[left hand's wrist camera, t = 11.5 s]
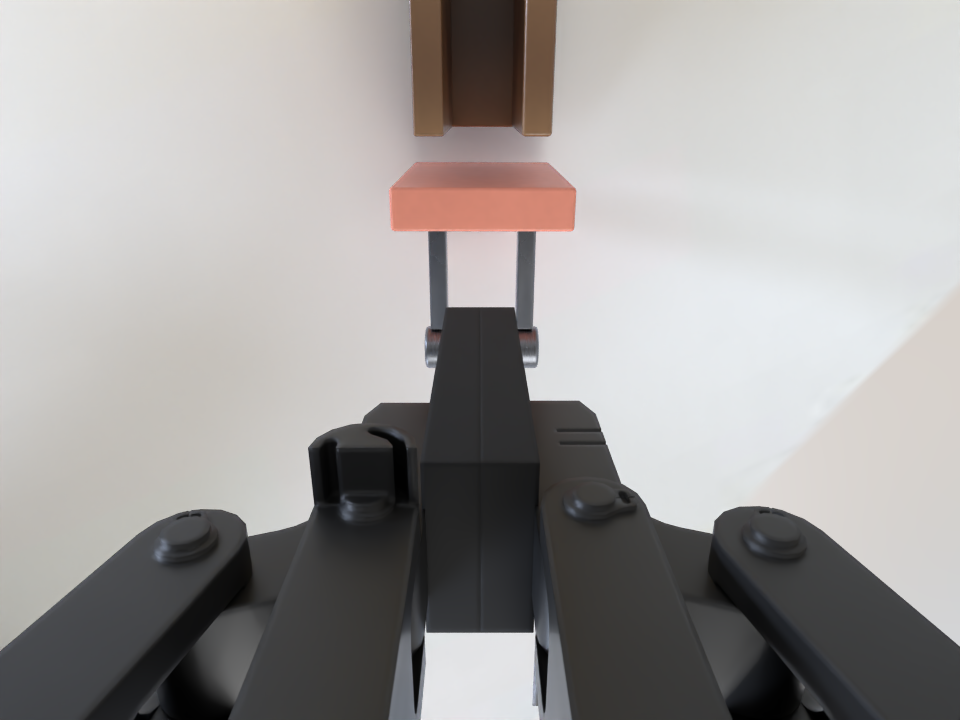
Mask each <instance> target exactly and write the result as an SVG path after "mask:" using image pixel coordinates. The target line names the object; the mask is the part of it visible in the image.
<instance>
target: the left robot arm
mask: <svg viewBox="0 0 960 720" xmlns="http://www.w3.org/2000/svg"><path fill="white" fill-rule="evenodd" d="M308 451H309V460H310V469H311V478H312V487H313V496H314V508H313V510H312V513H311V515H310V518H309V520H308V521H306V522H304V523H301V524H299V525H297V526H294V527H290V528H286V529H283V530H279V531H274V532H269V533H264V534H259V535H254V536H249V537H248V535H247V529H246V524H245V523H244V522H243V521H242V520H241V519H240V518H239V517H238V516H237V515H236V514H232V513H229V512H226V511H223V510H209V509H200V510H191V511H186V512H182V513H178V514H175V515H173V516H171V517H168V518H166V519H163V520H160V521H158V522H156V523H154V524H153V525H151V526H150V527H148V528H147V529H145V530H144V531H142V532H141V533H139V534H138V535H137V536H135V537H134V538H133V539H132V540H131V541H130V542H128V543H127V544H126V545H125V546H124V547H122V548H121V549H120V550H119V551H118V552H117V553H115V554H114V555H113V556H112V557H111V558H110V559H108V560H107V561H106V562H105V563H104V564H102V565H101V566H100V567H99V568H98V569H97V570H95V571H94V572H93V573H92V574H91V575H89V576H88V577H87V578H86V579H85V580H84V581H82V582H81V583H80V584H79V585H78V586H77V587H75V588H74V589H73V590H72V591H71V592H69V593H68V594H67V595H66V596H65V597H64V598H62V599H61V600H60V601H59V602H58V603H57V604H55V605H54V606H53V607H52V608H51V609H49V610H48V611H47V612H46V613H45V614H44V615H42V616H41V617H40V618H39V619H38V620H37V621H35V622H34V623H33V624H32V625H31V626H29V627H28V628H27V629H26V630H25V631H24V632H22V633H21V634H20V635H19V636H18V637H16V638H15V639H14V640H13V641H12V642H11V643H9V644H8V645H7V646H6V647H5V648H4V649H2V650H1V651H0V720H420V718H421V708H422V697H423V686H424V675H425V665H426V661H425V636H424V633H425V624H426V631H427V633H533V631H534V620H535V630H536V636H535V661H534V686H533V706H538V707H539V717H540V720H960V646H958V645H957V644H956V643H955V642H954V641H953V640H951V639H950V638H949V637H948V636H947V635H945V634H944V633H943V632H942V631H941V630H939V629H938V628H937V627H936V626H935V625H934V624H932V623H931V622H930V621H929V620H928V619H926V618H925V617H924V616H923V615H922V614H920V613H919V612H918V611H917V610H916V609H915V608H913V607H912V606H911V605H910V604H909V603H907V602H906V601H905V600H904V599H903V598H901V597H900V596H899V595H898V594H897V593H896V592H894V591H893V590H892V589H891V588H890V587H888V586H887V585H886V584H885V583H884V582H882V581H881V580H880V579H879V578H878V577H877V576H875V575H874V574H873V573H872V572H871V571H869V570H868V569H867V568H866V567H865V566H863V565H862V564H861V563H860V562H859V561H857V560H856V559H855V558H854V557H853V556H852V555H850V554H849V553H848V552H847V551H846V550H844V549H843V548H842V547H841V546H840V545H839V544H837V543H836V542H835V541H834V540H833V539H831V538H830V537H829V536H828V535H827V534H825V533H824V532H823V531H822V530H820V529H819V528H817V527H816V526H814V525H812V524H811V523H809V522H808V521H806V520H805V519H803V518H800V517H798V516H795V515H792V514H790V513H787V512H785V511H783V510H779V509H775V508H772V509H771V508H769V507H761V506H753V507H737V508H734V509H731V510H728V511H725V512H723V513H722V514H721V515H720V516H719V517H718V518H717V519H716V520H715V522H714V529H713V534H710V533H705V532H700V531H695V530H690V529H685V528H680V527H677V526H673V525H669V524H666V523H663V522H661V521H658V520H656V519H654V518H651V517H650V514H649V512H648V509H647V507H646V504H645V503H644V502H643V500H642V499H641V498H640V496H639V495H638V494H637V493H636V492H634V491H633V490H631V489H629V488H628V487H626V486H625V485H623V484H621V482H620V479H619V476H618V474H617V471H616V468H615V466H614V463H613V460H612V457H611V455H610V452H609V449H608V446H607V445H606V441H605V438H604V436H603V433H602V432H601V427H600V425H599V422H598V419H597V417H596V414H595V413H594V412H593V411H591V410H590V409H589V408H587V407H586V406H585V405H584V404H582V403H581V402H580V401H530V399H529V393H528V387H527V381H526V375H525V369H524V363H523V357H522V351H521V345H520V339H519V333H518V326H517V320H516V314H515V308H514V307H446V308H445V314H444V320H443V326H442V333H441V339H440V345H439V351H438V357H437V363H436V369H435V375H434V381H433V387H432V393H431V399H430V403H380V404H379V405H378V406H377V407H375V408H374V409H373V410H372V411H370V412H369V413H368V414H367V415H365V416H364V419H363V422H362V424H352V425H347V426H344V427H340V428H337V429H333V430H331V431H329V432H327V433H325V434H323V435H321V436H319V437H318V438H316V440H315V441H314V442H313V443H312V444H311V445H310V446H309V447H308Z"/></svg>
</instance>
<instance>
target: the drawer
mask: <svg viewBox="0 0 960 720" xmlns="http://www.w3.org/2000/svg"><path fill="white" fill-rule="evenodd" d="M409 10H410V40H411V69H412V98H413V128H414V136H443V135H444V134H445V133H446V132H447V131H448V130H449V129H450V128H451V127H514V128H515V129H516V130H517V131H519V132H520V133H521V134H522V135H523V136H550V135H551V134H552V116H553V92H554V67H555V42H556V17H557V0H409ZM389 198H390V219H391V229H392V230H393V231H428V241H429V277H430V313H431V326H428V327H427V328H426V333H425V361H426V366H427V367H429V368H436V363H437V357H438V351H439V345H440V339H441V333H442V326H443V320H444V314H445V308H446V307H448V265H447V231H517V261H516V305H515V314H516V320H517V326H518V333H519V339H520V345H521V351H522V357H523V363H524V368H535V367H537V364H538V354H539V339H538V330H537V327H535V326H533V303H534V273H535V243H536V231H573V229H574V222H575V203H576V189H575V188H574V187H573V186H572V185H571V184H570V183H569V182H568V181H567V180H566V179H565V178H564V177H563V176H562V175H560V174H559V173H558V172H557V171H556V170H555V169H554V168H553V167H552V166H551V165H550V164H549V163H488V162H417V163H415V164H414V165H413V166H412V167H411V168H410V169H409V170H408V171H407V172H406V173H405V174H404V175H403V176H402V177H401V178H400V179H399V180H398V181H397V182H396V183H395V184H394V185H393V186H392V187H391V188H390V190H389Z"/></svg>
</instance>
